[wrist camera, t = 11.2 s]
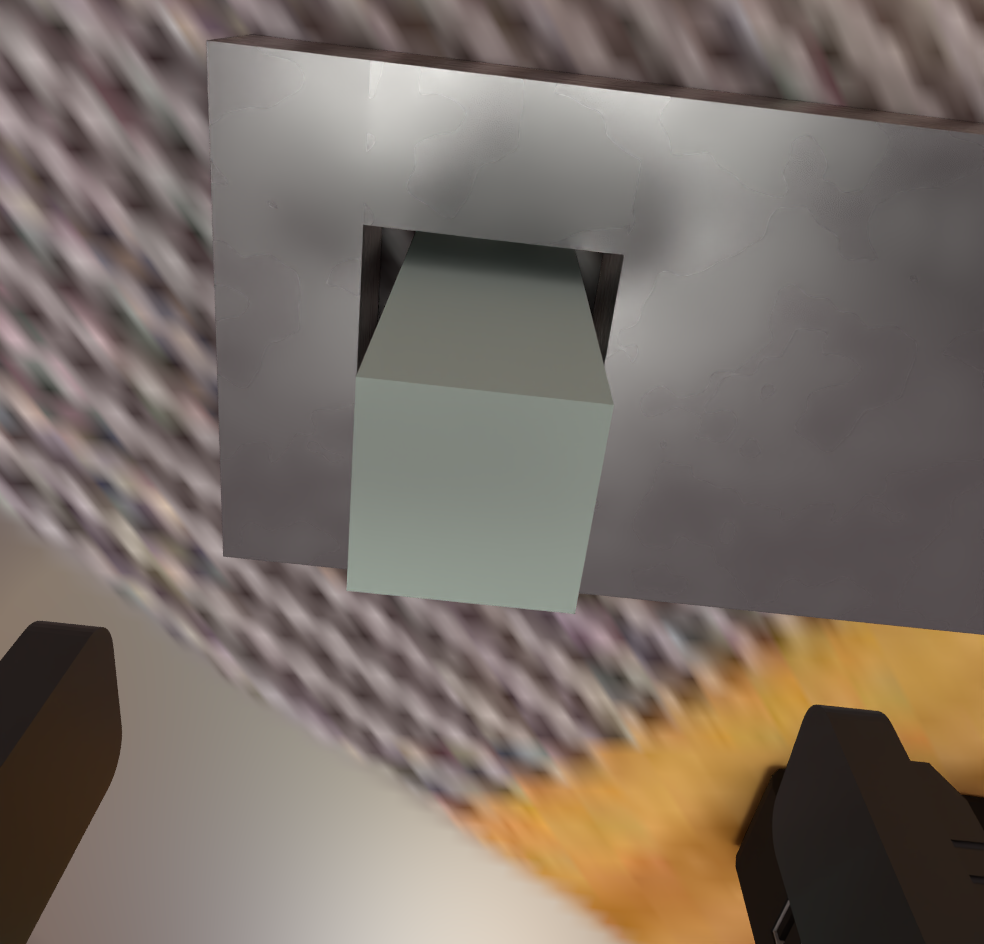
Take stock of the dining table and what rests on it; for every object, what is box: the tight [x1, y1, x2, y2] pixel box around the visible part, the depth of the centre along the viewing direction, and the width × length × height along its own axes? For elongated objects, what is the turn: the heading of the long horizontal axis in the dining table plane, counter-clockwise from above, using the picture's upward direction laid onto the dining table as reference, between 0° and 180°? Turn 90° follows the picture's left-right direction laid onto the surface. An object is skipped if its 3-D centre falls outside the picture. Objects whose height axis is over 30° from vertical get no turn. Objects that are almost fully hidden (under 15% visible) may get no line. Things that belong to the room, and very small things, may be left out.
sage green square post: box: [347, 231, 614, 614], centre depth 19 cm, size 4×4×10 cm
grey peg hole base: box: [206, 34, 984, 635], centre depth 22 cm, size 22×12×4 cm, turn 84°
